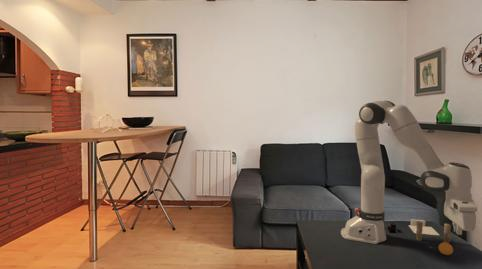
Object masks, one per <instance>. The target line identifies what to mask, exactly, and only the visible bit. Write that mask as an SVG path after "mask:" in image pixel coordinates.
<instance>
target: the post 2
mask: <svg viewBox="0 0 482 269" xmlns="http://www.w3.org/2000/svg"><path fill="white" fill-rule="evenodd" d="M451 226H452V225H451V224H450V223H444V224H443V228H444V229H443V242H445V243H449V244H450V243H451V228H452V227H451Z"/></svg>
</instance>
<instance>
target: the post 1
mask: <svg viewBox="0 0 482 269" xmlns="http://www.w3.org/2000/svg"><path fill="white" fill-rule="evenodd" d="M422 226H423V223H422V222H417V228H416V236H415V238H416V240H417V241H423V234H422Z"/></svg>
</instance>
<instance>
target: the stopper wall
mask: <svg viewBox="0 0 482 269" xmlns="http://www.w3.org/2000/svg"><path fill="white" fill-rule="evenodd" d="M417 222H422V223H423V226H426V221H425V220H424V219H413V218H411V219H410V225H414V226H417Z"/></svg>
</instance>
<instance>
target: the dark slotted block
mask: <svg viewBox="0 0 482 269" xmlns="http://www.w3.org/2000/svg"><path fill="white" fill-rule="evenodd" d="M384 229H386V230H387V231H388V232H389V234H399V232H398V230H397V225H396V223H395V222H391V221H389V222H387V227H386V226H384Z"/></svg>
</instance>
